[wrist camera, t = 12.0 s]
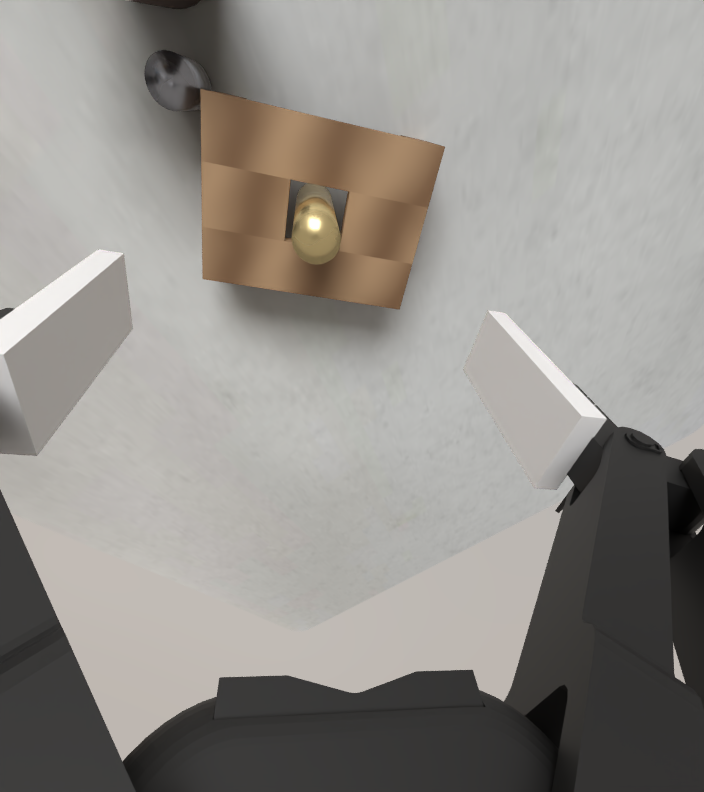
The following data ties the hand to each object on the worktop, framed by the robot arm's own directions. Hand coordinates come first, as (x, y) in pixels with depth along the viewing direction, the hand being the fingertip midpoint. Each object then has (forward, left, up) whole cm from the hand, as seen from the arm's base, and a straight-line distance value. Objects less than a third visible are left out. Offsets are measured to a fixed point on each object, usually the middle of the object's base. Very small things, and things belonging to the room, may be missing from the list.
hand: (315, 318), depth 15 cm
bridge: (0, 0, -24) cm, 24 cm away
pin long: (0, 0, -24) cm, 24 cm away
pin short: (-10, +6, -24) cm, 26 cm away
